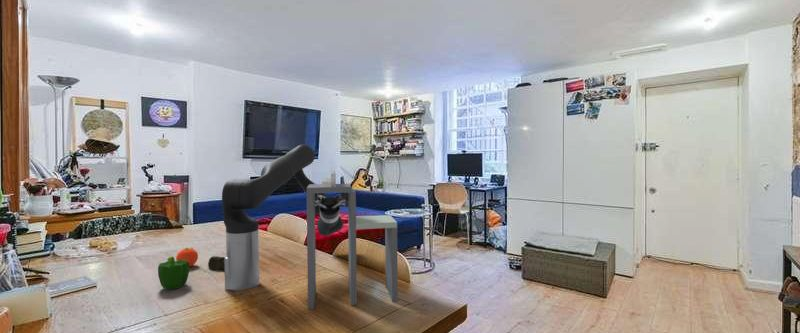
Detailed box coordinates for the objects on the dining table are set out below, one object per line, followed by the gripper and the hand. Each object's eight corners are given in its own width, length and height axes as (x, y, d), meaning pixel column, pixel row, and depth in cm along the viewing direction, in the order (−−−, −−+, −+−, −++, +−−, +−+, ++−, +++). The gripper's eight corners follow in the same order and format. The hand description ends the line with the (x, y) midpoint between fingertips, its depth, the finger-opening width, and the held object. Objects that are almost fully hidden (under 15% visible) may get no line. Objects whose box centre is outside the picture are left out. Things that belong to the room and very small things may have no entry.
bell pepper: (173, 281, 112) (173, 251, 112) (195, 283, 111) (194, 252, 110) (150, 291, 104) (149, 258, 104) (173, 293, 102) (172, 259, 102)
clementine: (183, 263, 132) (183, 245, 132) (202, 262, 133) (202, 244, 132) (172, 270, 124) (171, 250, 124) (192, 269, 125) (192, 249, 124)
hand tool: (258, 270, 124) (258, 257, 124) (250, 273, 120) (250, 260, 120) (214, 266, 129) (214, 254, 129) (205, 270, 125) (205, 257, 125)
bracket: (322, 187, 91) (322, 174, 91) (323, 182, 111) (323, 171, 111) (335, 187, 92) (335, 173, 92) (334, 182, 111) (334, 171, 111)
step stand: (308, 309, 91) (306, 187, 90) (310, 292, 103) (309, 184, 102) (397, 301, 96) (396, 185, 95) (390, 285, 107) (389, 182, 107)
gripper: (310, 201, 131) (307, 182, 117) (348, 200, 134) (350, 181, 120) (310, 220, 127) (307, 203, 113) (349, 219, 130) (351, 202, 116)
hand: (329, 192), depth 117 cm, fingers open, 8 cm apart
